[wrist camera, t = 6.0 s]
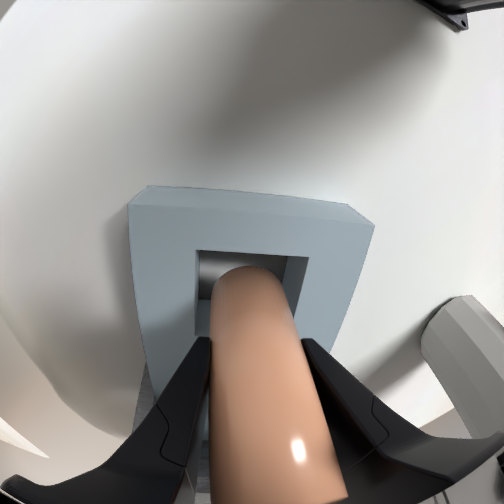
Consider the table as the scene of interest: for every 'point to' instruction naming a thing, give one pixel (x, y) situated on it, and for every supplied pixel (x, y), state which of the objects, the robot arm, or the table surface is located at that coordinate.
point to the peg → (264, 401)
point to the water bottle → (469, 363)
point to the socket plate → (244, 241)
